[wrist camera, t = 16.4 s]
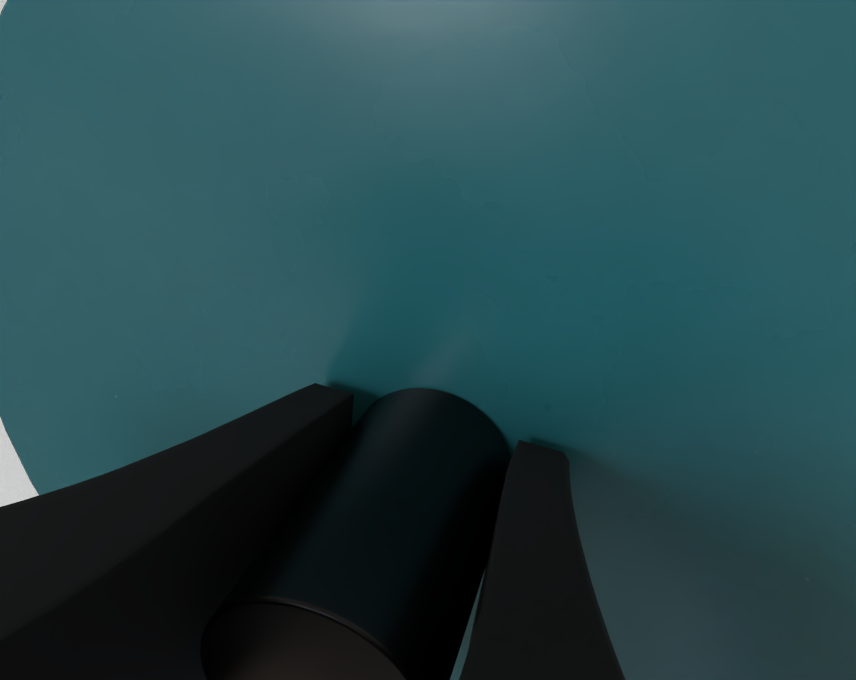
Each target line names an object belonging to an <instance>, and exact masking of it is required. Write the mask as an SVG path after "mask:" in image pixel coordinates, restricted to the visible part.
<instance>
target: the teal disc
mask: <svg viewBox="0 0 856 680" xmlns="http://www.w3.org/2000/svg"><path fill="white" fill-rule="evenodd" d="M314 383H317V384H320V385H324V386H328V387H331V388H335V389H338V390H342V391H346V392H349V393H353V394H354V399H353V412H352V424H351V431H350V433H349V434H348V435H347V437H346V438H345V439H344V441H343V442H342V443H341V445H340V446H339V447H338V449H337V450H336V451H335V453H334V454H333V455H332V457H331V458H330V459H329V461H328V462H327V463H326V465H325V466H324V467H323V469H322V470H321V471H320V473H319V474H318V475H317V477H316V478H315V479H314V481H313V482H312V483H311V485H310V486H309V487H308V489H307V490H306V491H305V493H304V494H303V495H302V497H301V498H300V499H299V501H298V502H297V503H296V505H295V506H294V507H293V509H292V510H291V511H290V513H289V514H288V515H287V517H286V518H285V519H284V521H283V522H282V523H281V525H280V526H279V527H278V529H277V530H276V531H275V533H274V534H273V535H272V537H271V538H270V539H269V541H268V542H267V544H266V545H265V546H264V548H263V549H262V550H261V552H260V553H259V554H258V556H257V557H256V558H255V560H254V561H253V562H252V564H251V565H250V566H249V568H248V569H247V570H246V572H245V573H244V574H243V576H242V577H241V578H240V580H239V581H238V582H237V584H236V585H235V586H234V588H233V589H232V590H231V592H230V593H229V594H228V596H227V597H226V598H225V600H224V601H223V602H222V604H221V605H220V606H219V608H218V609H217V610H216V612H215V613H214V614H213V616H212V617H211V618H210V620H209V621H208V623H207V625H206V627H205V629H204V631H203V636H202V640H201V647H200V656H201V663H202V668H203V671H204V675H205V677H206V680H459V678H460V675H461V672H462V669H463V666H464V663H465V659H466V656H467V653H468V648H469V643H470V638H471V633H472V628H473V623H474V617H475V613H476V608H477V604H478V599H479V595H480V590H481V586H482V581H483V577H484V572H485V568H486V565H487V561H488V556H489V552H490V547H491V542H492V537H493V531H494V527H495V522H496V518H497V513H498V509H499V504H500V500H501V495H502V491H503V486H504V482H505V477H506V473H507V468H508V465H509V463H510V460H511V457H512V455H513V452H514V450H515V448H516V445H517V443H518V441H519V440H522V441H525V442H529V443H533V444H536V445H540V446H543V447H547V448H551V449H554V450H558V451H561V452H564V453H565V455H566V457H567V458H568V460H569V461H570V465H569V472H570V486H571V494H572V501H573V506H574V512H575V517H576V522H577V527H578V532H579V536H580V540H581V544H582V548H583V552H584V555H585V559H586V563H587V567H588V571H589V574H590V578H591V582H592V585H593V588H594V591H595V595H596V598H597V601H598V605H599V608H600V610H601V613H602V616H603V619H604V622H605V625H606V628H607V631H608V634H609V637H610V640H611V643H612V645H613V648H614V651H615V653H616V656H617V659H618V661H619V664H620V667H621V669H622V672H623V674H624V677H625V679H626V680H856V0H7V2H6V4H5V5H4V7H3V9H2V11H1V14H0V417H1V420H2V422H3V425H4V427H5V430H6V432H7V434H8V436H9V438H10V440H11V442H12V444H13V447H14V449H15V451H16V453H17V455H18V457H19V459H20V461H21V463H22V465H23V467H24V469H25V471H26V473H27V475H28V477H29V479H30V481H31V483H32V484H33V486H34V488H35V489H36V491H37V492H38V494H39V495H42V494H45V493H49V492H52V491H55V490H58V489H61V488H64V487H68V486H71V485H74V484H77V483H80V482H82V481H85V480H88V479H91V478H94V477H97V476H100V475H102V474H105V473H108V472H111V471H113V470H116V469H119V468H121V467H124V466H126V465H129V464H131V463H134V462H136V461H139V460H141V459H143V458H146V457H148V456H151V455H153V454H156V453H158V452H161V451H163V450H166V449H168V448H171V447H173V446H176V445H178V444H180V443H183V442H185V441H188V440H190V439H193V438H195V437H197V436H199V435H202V434H204V433H206V432H208V431H210V430H213V429H215V428H217V427H219V426H221V425H224V424H226V423H228V422H230V421H232V420H235V419H237V418H239V417H241V416H243V415H246V414H248V413H250V412H252V411H254V410H256V409H258V408H260V407H263V406H265V405H267V404H269V403H271V402H273V401H275V400H278V399H280V398H282V397H284V396H286V395H288V394H291V393H293V392H295V391H297V390H299V389H302V388H304V387H307V386H309V385H312V384H314Z"/></svg>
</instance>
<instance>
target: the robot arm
mask: <svg viewBox="0 0 856 680" xmlns="http://www.w3.org/2000/svg"><path fill="white" fill-rule="evenodd" d="M353 399H354V394H353V393H349V392H346V391H342V390H338V389H335V388H331V387H328V386H324V385H320V384H317V383H314V384H312V385H309V386H307V387H304V388H302V389H299V390H297V391H295V392H293V393H291V394H288V395H286V396H284V397H282V398H280V399H278V400H275V401H273V402H271V403H269V404H267V405H265V406H263V407H260V408H258V409H256V410H254V411H252V412H250V413H248V414H246V415H243V416H241V417H239V418H237V419H235V420H232V421H230V422H228V423H226V424H224V425H221V426H219V427H217V428H215V429H213V430H210V431H208V432H206V433H204V434H202V435H199V436H197V437H195V438H193V439H190V440H188V441H185V442H183V443H180V444H178V445H176V446H173V447H171V448H168V449H166V450H163V451H161V452H158V453H156V454H153V455H151V456H148V457H146V458H143V459H141V460H139V461H136V462H134V463H131V464H129V465H126V466H124V467H121V468H119V469H116V470H113V471H111V472H108V473H105V474H102V475H100V476H97V477H94V478H91V479H88V480H85V481H82V482H80V483H77V484H74V485H71V486H68V487H64V488H61V489H58V490H55V491H52V492H49V493H45V494H42V495H39V496H36V497H33V498H30V499H27V500H23V501H20V502H16V503H13V504H9V505H6V506H2V507H0V680H206V677H205V675H204V671H203V668H202V663H201V656H200V647H201V640H202V636H203V631H204V629H205V627H206V625H207V623H208V621H209V620H210V618H211V617H212V616H213V614H214V613H215V612H216V610H217V609H218V608H219V606H220V605H221V604H222V602H223V601H224V600H225V598H226V597H227V596H228V594H229V593H230V592H231V590H232V589H233V588H234V586H235V585H236V584H237V582H238V581H239V580H240V578H241V577H242V576H243V574H244V573H245V572H246V570H247V569H248V568H249V566H250V565H251V564H252V562H253V561H254V560H255V558H256V557H257V556H258V554H259V553H260V552H261V550H262V549H263V548H264V546H265V545H266V544H267V542H268V541H269V539H270V538H271V537H272V535H273V534H274V533H275V531H276V530H277V529H278V527H279V526H280V525H281V523H282V522H283V521H284V519H285V518H286V517H287V515H288V514H289V513H290V511H291V510H292V509H293V507H294V506H295V505H296V503H297V502H298V501H299V499H300V498H301V497H302V495H303V494H304V493H305V491H306V490H307V489H308V487H309V486H310V485H311V483H312V482H313V481H314V479H315V478H316V477H317V475H318V474H319V473H320V471H321V470H322V469H323V467H324V466H325V465H326V463H327V462H328V461H329V459H330V458H331V457H332V455H333V454H334V453H335V451H336V450H337V449H338V447H339V446H340V445H341V443H342V442H343V441H344V439H345V438H346V437H347V435H348V434H349V433H350V431H351V424H352V412H353ZM569 465H570V461H569V460H568V458H567V457H566V455H565V453H564V452H561V451H558V450H554V449H551V448H547V447H543V446H540V445H536V444H533V443H529V442H525V441H522V440H519V441H518V443H517V445H516V448H515V450H514V452H513V455H512V457H511V460H510V463H509V465H508V468H507V473H506V477H505V482H504V486H503V491H502V495H501V500H500V504H499V509H498V513H497V518H496V522H495V527H494V531H493V537H492V542H491V547H490V552H489V556H488V561H487V565H486V568H485V572H484V577H483V581H482V586H481V590H480V595H479V599H478V604H477V608H476V613H475V617H474V623H473V628H472V633H471V638H470V643H469V648H468V653H467V656H466V659H465V663H464V666H463V669H462V672H461V675H460V678H459V680H626V679H625V677H624V674H623V672H622V669H621V667H620V664H619V661H618V659H617V656H616V653H615V651H614V648H613V645H612V643H611V640H610V637H609V634H608V631H607V628H606V625H605V622H604V619H603V616H602V613H601V610H600V608H599V605H598V601H597V598H596V595H595V591H594V588H593V585H592V582H591V578H590V574H589V571H588V567H587V563H586V559H585V555H584V552H583V548H582V544H581V540H580V536H579V532H578V527H577V522H576V517H575V512H574V506H573V501H572V494H571V486H570V472H569Z"/></svg>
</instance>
